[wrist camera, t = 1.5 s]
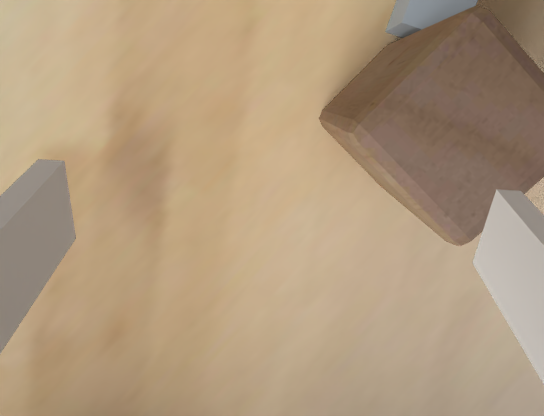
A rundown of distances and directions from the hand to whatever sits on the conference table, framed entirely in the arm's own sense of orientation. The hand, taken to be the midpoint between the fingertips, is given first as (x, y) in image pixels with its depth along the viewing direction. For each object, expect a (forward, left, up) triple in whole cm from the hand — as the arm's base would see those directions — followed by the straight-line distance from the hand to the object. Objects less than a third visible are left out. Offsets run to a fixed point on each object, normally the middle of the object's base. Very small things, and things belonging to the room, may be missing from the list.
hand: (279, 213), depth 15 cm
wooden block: (-8, -7, -32) cm, 34 cm away
